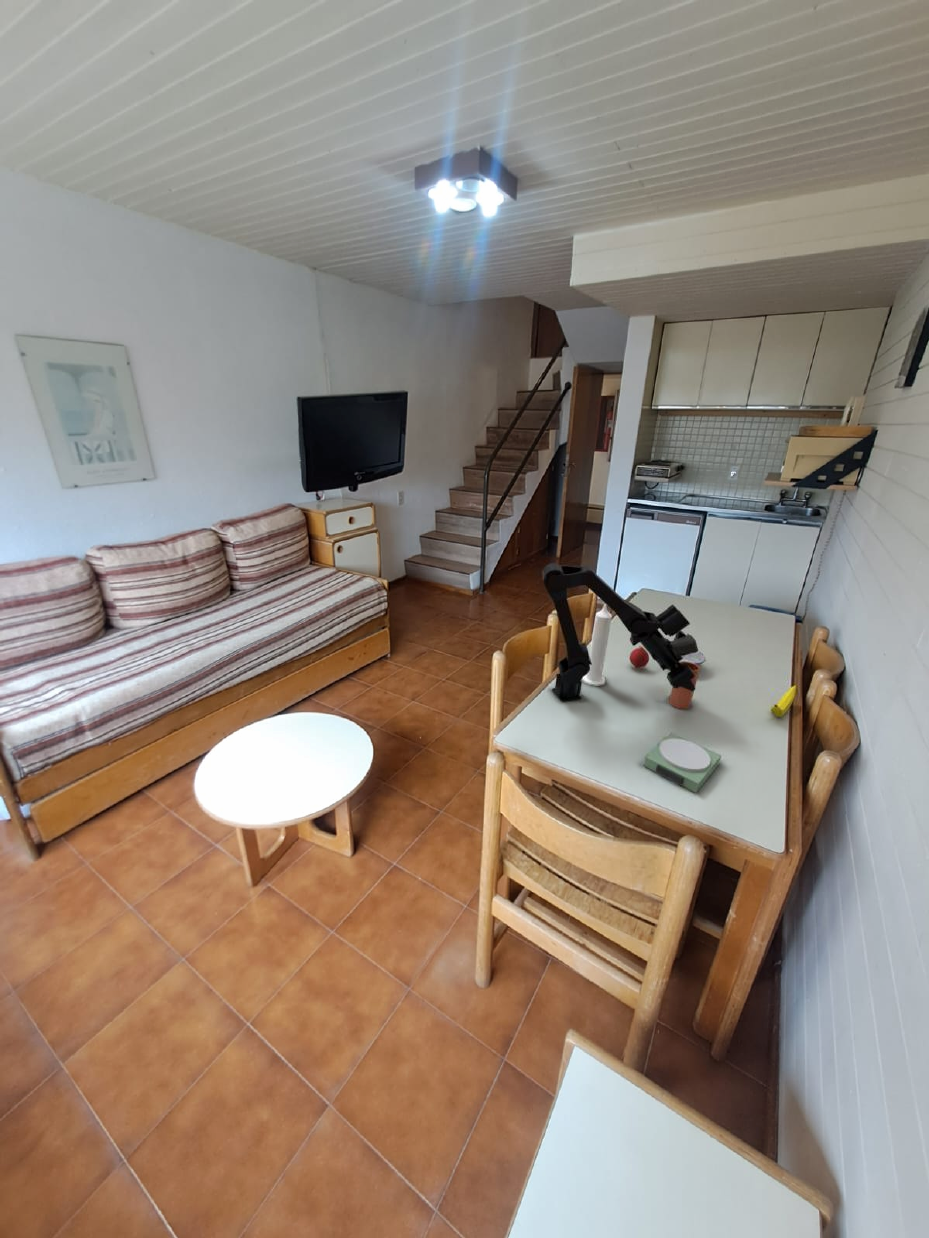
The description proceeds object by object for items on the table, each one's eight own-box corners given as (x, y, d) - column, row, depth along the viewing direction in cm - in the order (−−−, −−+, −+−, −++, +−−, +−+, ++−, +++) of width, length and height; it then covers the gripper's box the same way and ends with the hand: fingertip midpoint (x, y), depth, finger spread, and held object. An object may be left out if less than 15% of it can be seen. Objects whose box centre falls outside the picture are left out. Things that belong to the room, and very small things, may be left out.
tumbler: (677, 709, 136) (686, 672, 132) (665, 699, 141) (673, 662, 137) (694, 707, 138) (704, 670, 133) (681, 697, 143) (690, 660, 138)
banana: (795, 702, 142) (802, 683, 140) (775, 727, 130) (782, 707, 128) (784, 698, 144) (791, 679, 142) (763, 723, 132) (770, 702, 130)
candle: (592, 688, 146) (604, 610, 136) (576, 677, 151) (587, 601, 142) (610, 683, 149) (623, 606, 139) (594, 672, 154) (606, 598, 145)
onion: (644, 664, 161) (648, 642, 158) (648, 673, 155) (653, 650, 152) (626, 663, 161) (630, 641, 158) (629, 671, 156) (634, 649, 153)
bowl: (676, 654, 169) (679, 641, 167) (710, 670, 159) (714, 657, 157) (651, 662, 162) (654, 649, 160) (685, 680, 152) (689, 666, 150)
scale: (694, 793, 106) (698, 781, 105) (642, 766, 114) (645, 755, 113) (719, 763, 116) (722, 752, 115) (669, 740, 123) (672, 729, 122)
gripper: (694, 642, 122) (729, 684, 126) (672, 614, 139) (703, 651, 143) (656, 668, 126) (691, 708, 129) (638, 637, 143) (670, 673, 147)
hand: (689, 683), depth 137 cm, fingers open, 7 cm apart
